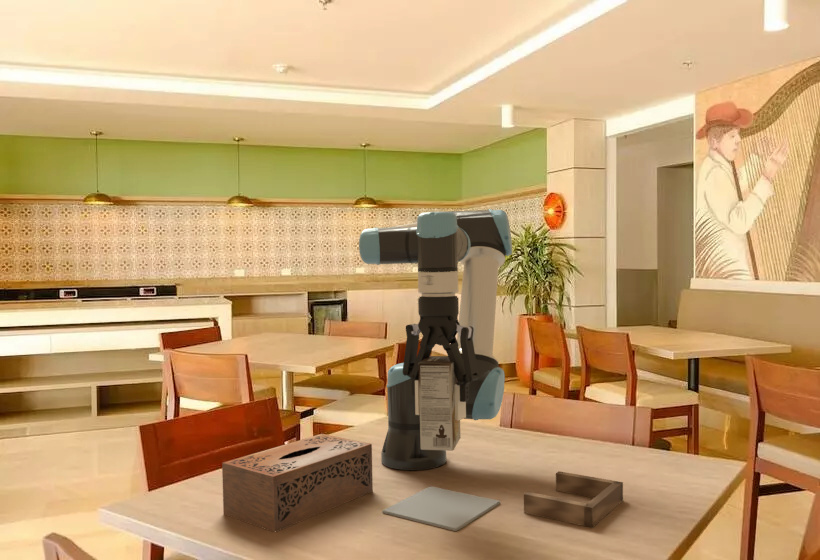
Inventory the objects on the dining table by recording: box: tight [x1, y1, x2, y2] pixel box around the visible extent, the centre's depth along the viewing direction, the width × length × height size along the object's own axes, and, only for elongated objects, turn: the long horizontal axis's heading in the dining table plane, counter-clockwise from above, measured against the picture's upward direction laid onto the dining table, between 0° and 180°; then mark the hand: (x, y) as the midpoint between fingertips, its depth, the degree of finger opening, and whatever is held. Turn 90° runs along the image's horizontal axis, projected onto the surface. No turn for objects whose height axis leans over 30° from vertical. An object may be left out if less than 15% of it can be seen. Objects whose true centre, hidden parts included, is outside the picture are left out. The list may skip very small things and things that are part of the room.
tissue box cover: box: [221, 433, 373, 533], centre depth 134 cm, size 26×14×10 cm, turn 142°
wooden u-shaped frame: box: [523, 471, 624, 528], centre depth 129 cm, size 13×16×4 cm
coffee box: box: [419, 355, 461, 452], centre depth 128 cm, size 9×6×16 cm
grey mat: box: [382, 486, 501, 532], centre depth 129 cm, size 16×16×1 cm
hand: (440, 416), depth 128 cm, fingers closed on coffee box, 8 cm apart
